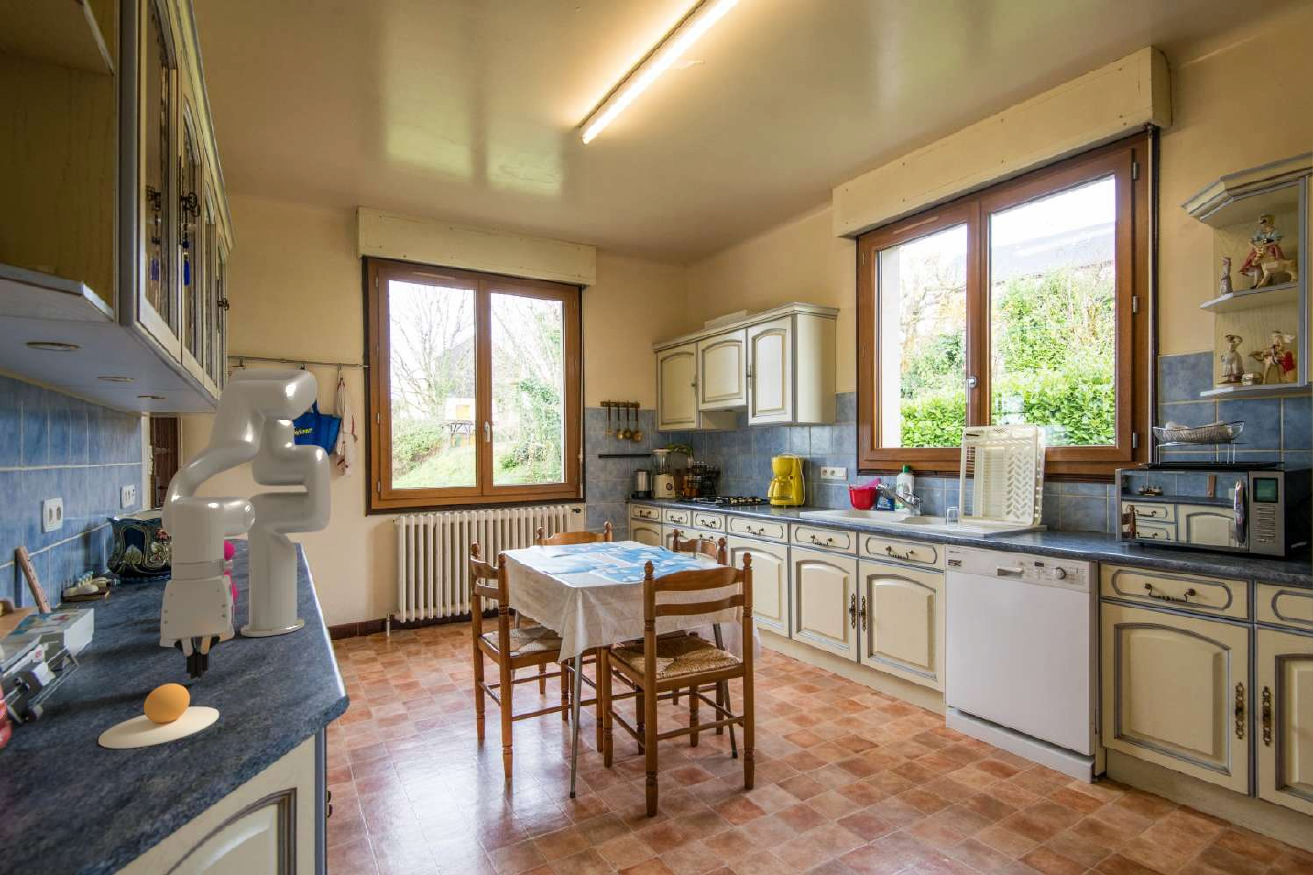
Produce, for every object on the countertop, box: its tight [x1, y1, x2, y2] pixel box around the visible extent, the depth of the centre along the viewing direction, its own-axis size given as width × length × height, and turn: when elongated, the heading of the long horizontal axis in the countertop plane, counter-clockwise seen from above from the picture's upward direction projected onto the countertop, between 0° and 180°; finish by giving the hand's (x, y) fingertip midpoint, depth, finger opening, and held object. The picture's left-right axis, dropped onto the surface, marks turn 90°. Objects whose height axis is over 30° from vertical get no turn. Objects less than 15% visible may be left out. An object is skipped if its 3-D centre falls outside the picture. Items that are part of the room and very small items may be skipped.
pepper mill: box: [224, 537, 239, 613], centre depth 163 cm, size 7×7×20 cm
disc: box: [98, 706, 220, 750], centre depth 94 cm, size 14×14×1 cm
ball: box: [143, 683, 191, 723], centre depth 96 cm, size 6×6×6 cm
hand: (198, 675), depth 111 cm, fingers closed
